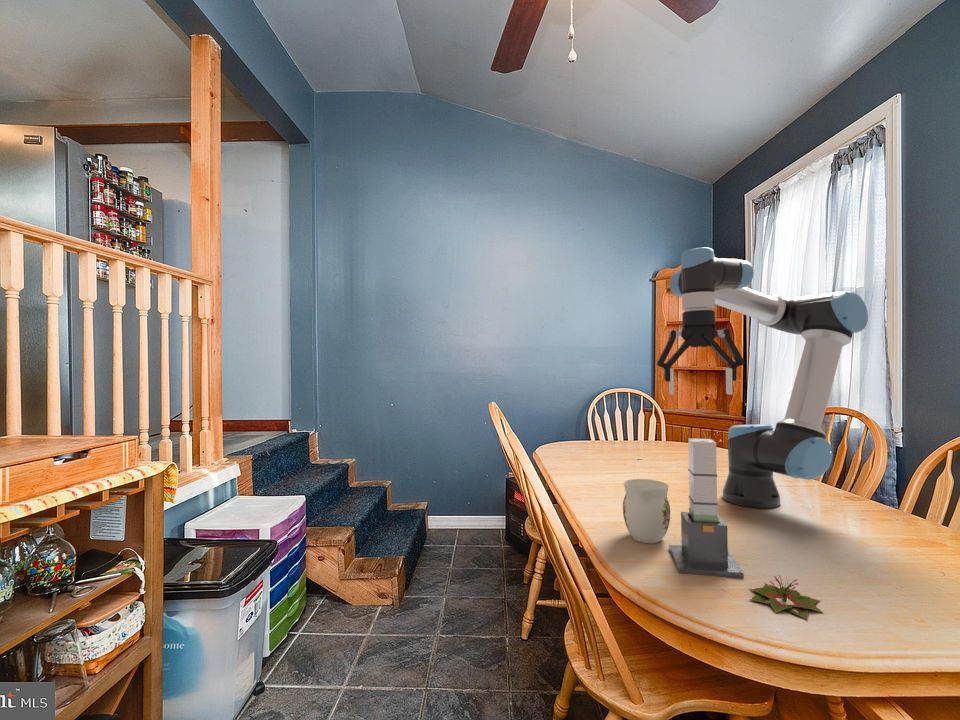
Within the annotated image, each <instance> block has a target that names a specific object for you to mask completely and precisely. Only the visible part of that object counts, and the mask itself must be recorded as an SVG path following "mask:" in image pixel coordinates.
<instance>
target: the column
mask: <svg viewBox="0 0 960 720" xmlns="http://www.w3.org/2000/svg"><path fill="white" fill-rule="evenodd" d="M687 441H688V469H687V470H688V490H689V491H688V493H689V494H688V495H689V496H688V498H689V501H688V502H689V507H688V512H689V514H690V520H691V521H692V522H698V523H716V524H717V522H718V515H719V514H718V505H719V504H718V486H717V485H718V483H717V481H718V479H717V477H718V474H717V442H716V441H714V439H712V438H688V439H687ZM717 514H718V515H717Z"/></svg>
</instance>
